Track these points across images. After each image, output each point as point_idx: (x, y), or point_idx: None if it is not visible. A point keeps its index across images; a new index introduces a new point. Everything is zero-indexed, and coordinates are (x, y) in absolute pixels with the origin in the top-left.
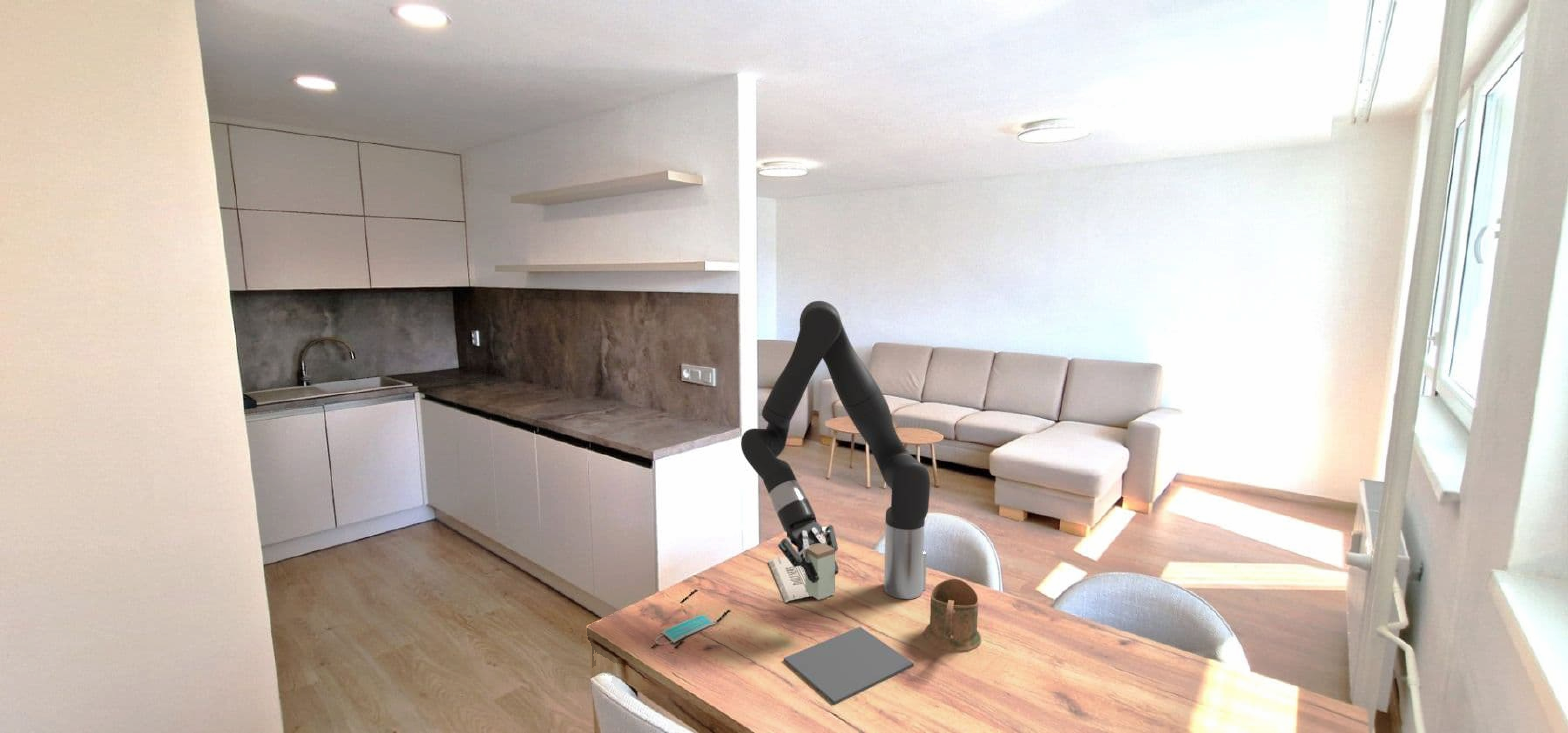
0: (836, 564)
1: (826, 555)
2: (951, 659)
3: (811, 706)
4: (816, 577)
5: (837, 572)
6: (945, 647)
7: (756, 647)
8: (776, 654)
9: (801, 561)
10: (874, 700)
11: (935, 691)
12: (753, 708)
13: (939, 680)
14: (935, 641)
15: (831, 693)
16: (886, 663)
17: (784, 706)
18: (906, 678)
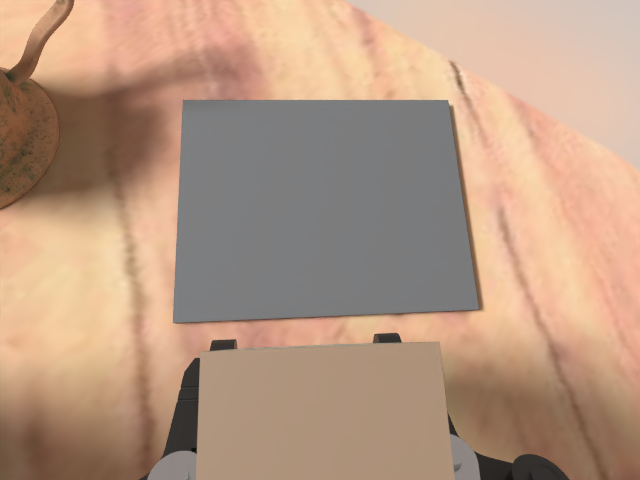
0: (183, 390)
1: (319, 346)
2: (80, 73)
3: (493, 128)
4: (396, 338)
5: (219, 341)
6: (49, 103)
7: (520, 419)
8: (480, 350)
9: (519, 457)
10: (357, 70)
11: (218, 20)
12: (614, 191)
13: (178, 38)
14: (48, 131)
15: (440, 123)
16: (245, 136)
17: (548, 159)
18: (238, 83)
